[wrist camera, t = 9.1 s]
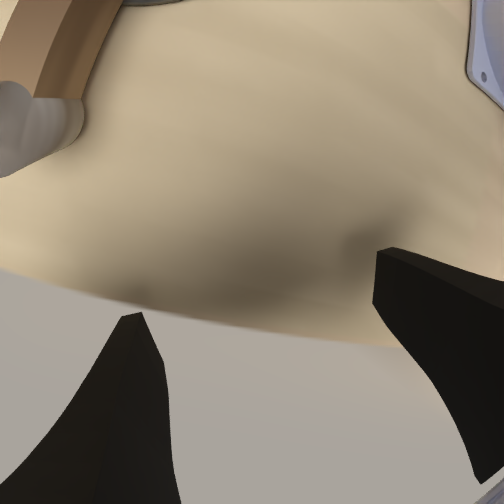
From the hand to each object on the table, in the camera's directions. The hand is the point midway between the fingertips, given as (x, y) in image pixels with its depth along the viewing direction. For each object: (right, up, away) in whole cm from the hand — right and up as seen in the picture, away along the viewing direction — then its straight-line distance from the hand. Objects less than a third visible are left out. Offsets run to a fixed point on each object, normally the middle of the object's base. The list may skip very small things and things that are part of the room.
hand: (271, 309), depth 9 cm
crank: (-4, +8, -4) cm, 10 cm away
